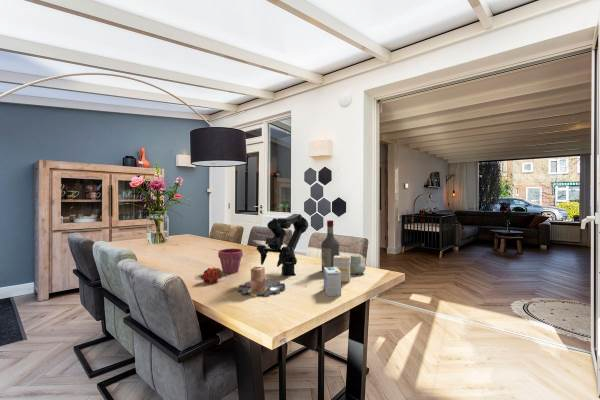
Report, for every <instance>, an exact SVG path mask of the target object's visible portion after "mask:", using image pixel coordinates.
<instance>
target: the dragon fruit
mask: <svg viewBox="0 0 600 400" xmlns="http://www.w3.org/2000/svg"><path fill="white" fill-rule="evenodd" d="M222 277H223V270H221V269H220V268H218V267H217V268H216V267H214V266H212V268H210V267H208V268H207V269H206V270H204V272H203V273H202V275H201V276H200V277H199V279H201V280H202V282H203V283H211V284H214V283H217V282H218V280H221V279H222Z"/></svg>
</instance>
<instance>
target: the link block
mask: <svg viewBox="0 0 600 400" xmlns="http://www.w3.org/2000/svg"><path fill="white" fill-rule="evenodd" d="M265 274H266V273H265V266H253V267H252V268H251V269H250V282H251V291H262V290H263V289H264V288H265V281H266V278H265V277H266V275H265Z"/></svg>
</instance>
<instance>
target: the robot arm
mask: <svg viewBox="0 0 600 400" xmlns="http://www.w3.org/2000/svg"><path fill="white" fill-rule="evenodd" d="M292 225H293V229H294V230H293V233H292V235H291V236H290V239H289V241H288V243H287V245H286V246H284V244H285V243H284V240H285V237H287V236H288V235H287V232H286V230H288V229H290V228H291V226H292ZM266 226H267V228H268V230H269V231H270V232H271V233H272V234H273V237H266V238H265V243H264V245H263V244H257V246H256V251H258V253H259V255H260V265H261V266H263V265H264V264H265V261H266V258H267V256H268V253H274V254H275V253H277V254H278V260H277V263H276V267H277V268H279V267H280V265H281V275H283V276H284V277H289V276H290V277H291V276H296V273H295V266H296V265H297V263H298V258H297V257H296V254H295V249H296V247H297V245H298V243H299V240H300V239H301V236H302V234H304V233H305V232H307V229H308V228H309V222H308V220H307V219H306V218H305V217H303V216H302V214H300V213H293V214H292V215H290V216H288V217H283V218H282V217H279V218H277V217H274V218H272V220H271V219H270V221H268V223H267V225H266ZM266 245H267V247H266Z"/></svg>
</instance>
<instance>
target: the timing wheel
mask: <svg viewBox="0 0 600 400" xmlns="http://www.w3.org/2000/svg"><path fill="white" fill-rule="evenodd" d="M285 290H286V284H285V283H281V281H280V280H275V281H273V280H272V279H265V288H264V289H263V290H262V291H251V281H246V282H245V283H244V284H240V285H238V287H237V293H240V294H241V295H242V296H250V298H257V297H264V298H265V297H270V296H271V295H276V296H277V295H279V294H281V292H285Z"/></svg>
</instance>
